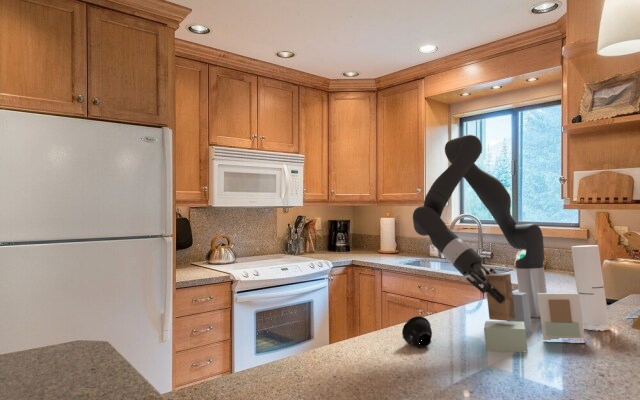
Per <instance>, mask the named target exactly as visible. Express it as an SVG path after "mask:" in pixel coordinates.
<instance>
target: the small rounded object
mask: <svg viewBox="0 0 640 400" xmlns="http://www.w3.org/2000/svg"><path fill="white" fill-rule="evenodd" d="M431 326H432V325H431V323H430V321H429V320H428V319H427V318H426V317H424V316H421V315H420V316H418V315H417V316H413V317H411V318H409V319H408V320H407V321H406V322H405V323H404V325H403V328H402V332H401V335H402V338H403V340H404V341H405V343H408V344H409V345H412V346H414V347H418V348H419V347H422V348H425V347H429V345H431V343H432V336H433V332H432V327H431ZM421 340H422V341H421ZM419 343H420V344H419Z"/></svg>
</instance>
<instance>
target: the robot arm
mask: <svg viewBox="0 0 640 400" xmlns="http://www.w3.org/2000/svg"><path fill="white" fill-rule="evenodd" d="M482 150H483V147H482V141H481V139H480V138H479V137H478V136H476V135H474V134H466V135H462V136H459V137H456V138H453V139H450V140H449V141H447V142H446V143H445V145H444V154H445V156H446V158H447V160H448V161H449V163H450V165H449V166H448V167H447V168H446V169H445V170H444V171H443V172H441V174H440V175H439V176H438V177H437V178H436V179H435V181H433V183H432V185H430V188H429V190H428V192H427V194H426V195H425V198H424V202H423V205H421V206H417V208H415V209H414V211H413V213H412V221H413V228H414V231H415V232H416V234H418V235H420V236H423V237H424V236H426V237H427V236H428V237H429V239H430V242H431V243H432V245H433V246H434V248H435V249H437V251H439V252H440V253H441V254H442V255H443V256H444V257H445V260H446V261H448V262H449V263H450V264H451V266H452V267H454V269H456V270H457V271H458V272H459V273H460V274H461V275H462V276H463V277H466V280H467V281H468V282H469V284H471V285H472V286H474V287H475V288H476V289H477V290H479V291H480V292H481V293H482V294H485V293H486V295H487V294H490V295H491V296H492V297H493V298H494V299H495V300H496V301H497V302H498V303H500V304H501V303H502V302H503V301H504V300H505V299H506V298H505V297H504V296H503V295H502V294H501V293H500V292H499V291H498V290H497V289H496V288H495V287H494V286H493V285H492V284H491V283H490V282H489V281H490V280H489V279H488V278H487V277H486V276H485V275H489V274H498V273H497V272H496V271H495V269H494V268H493V267H492V268H490V269H489V268H487V267H485V266H484V265H482V264H483V261H484V260H483V257H482V256H481V255H480V254H478V253H477V252H476V250H475V249H473V248H472V247H471V246H470V245H469V244H468V243H467V242H465V241H464V240H462V239H461V238H460V237H459V236H458V235H457V234H455V232H453V231H452V230H451V229H450V228H449V227H448V226H447V224H446V223H445V221H444V220H443V219H442V218H441V217H442V213H443V211H444V209H445V207H446V206H447V204H448V202H449V201H450V199H451V197H452V195H453V193H454V192H455V190H456V188H457V186H458V184H459V183H460V182H461V181H462V179H465V181H466V183H468V185H469V187H471V188H472V190H473V191H474V193H475V194H476V196H477V197H478V198H479V200H480V201H481V202H482V204H483V206H484V207H485V208H486V209H487V211H488V212H489V214H491V216H492V217H493V219H494V221H495V222H496V223H497V225H498V227H499V228H500V230H501V232H502V234H503V236H504V237H505V239H506V241H507V243H508V244H509V245H510V247H512V248H513V249H514V250H515V249H516V250H525V255H524V256H522V257H520V258H519V259H517V260H515V270H516V277H517V278H516V280H517V287H518V293H528V300H529V308H530V317H531V318H541V317H540V308H539V300H538V293H548V290H547V282H546V276H545V275H546V274H545V267H544V263H545V249H544V245H545V244H544V234H543V231H542V229H541V227H540V226H539V225H538V224H536V223H526V224H525V223H524V224H519V223H518V222H516V221H515V220H514V218H513V216H512V214H511V208H512V207H511V206H512V200H511V195H510V193H509V192H508V190H507V189H506V187H505V186H504V185H503V183H502V182H501V181H500V179H498V178H496V177H495V176H494V175H492V174H490V173H489V172H487V171H485V170H483V169H482V168H481V167H479V166H478V164H476V161H478V159H479V158H480V156H481V154H482ZM494 288H495V289H494ZM513 297H514V295H513Z"/></svg>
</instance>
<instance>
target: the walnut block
mask: <svg viewBox="0 0 640 400" xmlns="http://www.w3.org/2000/svg"><path fill="white" fill-rule="evenodd" d="M485 276H486V277H487V278H488V279H489V280H490V281H489V282H490V283H491V284H492V285H493V286H494V287H495V288H496V289H497V290H498V291H499V292H500V293H501V294H502V295H503V296H504V297H505V298H506V299H505V300H504V301H503V302H502V303H501V304H500V303H498V302H497V301H496V300H495V299H494V298H493V297H492V296H491V295H490V294H487V293H486V299H487V301H486V302H487V307H488V308H487V309H488V317H489V318H488V319H489V320H490V321H494V320H495V321H509V320H511V319H513V318H515V312H514V303H513V294H512V292H513V287H512V278H511V273H497V274H489V275H485ZM495 288H494V289H495Z"/></svg>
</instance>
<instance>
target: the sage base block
mask: <svg viewBox="0 0 640 400" xmlns="http://www.w3.org/2000/svg"><path fill="white" fill-rule="evenodd" d="M483 334H484V343H485V350H486V352H487V351H488V352H489V351H490V352H512V353H525V352H524V351H528V344H527V343H528V342H527V341H528V340H527V336H526V332H525V325H524V322H517V321H503V320H495V321H494V320H489V321H488V320H485V322H484V327H483Z"/></svg>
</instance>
